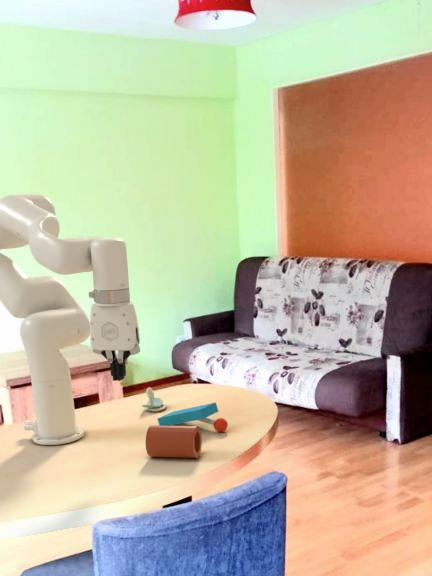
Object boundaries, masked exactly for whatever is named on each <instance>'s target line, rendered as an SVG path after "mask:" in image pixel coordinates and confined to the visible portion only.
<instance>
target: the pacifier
mask: <svg viewBox="0 0 432 576" xmlns="http://www.w3.org/2000/svg"><path fill="white" fill-rule="evenodd" d="M145 394H146V396H147V398H148V401H147V403H146V404H141V407H142V408H147V410H148V412H149V411H151V412H160V411H163V410H165V409H166V408H167V405H166V404H164V403H163V400H162V399H161V398H160V397H155V392H154V390H153V388H152V387H151V386H150V387H149V386H148V388H146V391H145Z"/></svg>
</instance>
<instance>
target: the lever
mask: <svg viewBox="0 0 432 576" xmlns="http://www.w3.org/2000/svg"><path fill="white" fill-rule="evenodd" d="M216 413H219V408H218V405H217V402H211V403H207V404H202V405H197V406H192V407H188V408H187V407H186V408H182V409H179V410H173V411H170V412H169V413H166V414H164V415H161V416H160V417H158V418H157V422H158V426H176V425H179V424H180V425H181V424H183V423H189V422H195V421H199V422H202V423H205V424H208V425H211V426H213V427H214V430H215V431H217V432H219V433H222V432H225V431H227V429H228V426H229V425H228V421H227V420H226V418H222V417H219V418H216V419H215V420H214V419H211V418H209V417H211V416H212V415H214V414H216Z"/></svg>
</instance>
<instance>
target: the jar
mask: <svg viewBox="0 0 432 576" xmlns="http://www.w3.org/2000/svg"><path fill="white" fill-rule="evenodd" d="M202 440H203V439H202V431H201V428H200V426H197V425H170V426H159V425H149V426H148V428H147V430H146V435H145V450H146V453H147V455H148V457H151V458H152V457H153V458H183V459H184V458H185V459H199V457H200V455H201V452H202V445H203V444H202V443H203V442H202Z"/></svg>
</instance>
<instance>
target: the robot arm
mask: <svg viewBox="0 0 432 576" xmlns="http://www.w3.org/2000/svg"><path fill="white" fill-rule="evenodd" d="M60 229H61V225H60V222H59V219H58V218H57V217H56V209H55V206H54V204H53V202H52V200H50V199H49V198H48V197H47V196H45V195H43V194H40V193H22V194H20V193H19V194H8V195H5V196H3V197H1V198H0V251H1V250H10V249H17V248H23V247H26V246H28V247H29V250H30V252H31V254H32V257H33V258H34V260H35V261H36V262H37V263H38V264H39V265H41V266H42V267H44V268H45V269H48V270H49V271H51V272H52V273H55V274H58V275H62V276H68V275H75V274H81V273H82V274H83V273H90V272H91V273H92V282H93V289H92V291H89V292H88V298H90V299H93V301H94V303H92V304H91V307H90V314H89V315H90V316H89V317H90V318H89V317H88V315H87V313H86V312H85V310H84V308H82V306H81V305H80V303H79V302H78V300H77V299H75V297H74V296H73V295H72V293H71V292H70V291H69V289H68V288H67V286H66V285H65V284H64V283H63V281H61V280H60V279H58V278H56V277H54V276H51V275H41V276H33V277H31V276H28V275H27V274H25V273H24V272H23V271H22V269H21V268H20V266H19V265H18V264H17V263H16V262H15V260H13V259H11V258H10V257H8V256H7V255H5V254H3V253H2V252H0V302H1V303H2V305H3V306H4V307H5V309H6V311H8V313H9V314H10V315H11V316H13V317H14V318H16V319H23V320H22V322H21V323H20V328H19V333H20V339H21V342H22V345H23V349H24V351H25V353H26V358H27V363H28V368H29V376H30V381H31V389H32V397H33V405H34V411H35V419H36V420H34V421H33V420H25V421H24V424H23V429H24V431H32V432H33V434H32V436H31V438H32V442H33V443H35V444H37V445H42V446H58V445H64V444H70V443H72V442H76V441H77V440H80V439H81V438H83V436H84V434H85V433H84V429H83V428H82V427H80V426H77V419H76V411H75V410H76V408H75V401H74V394H73V383H72V377H71V369H70V365H69V362H68V361H67V360H66V358H65V357H64V355H63V354H62V353H61V351H60V350H61V349H64V348H68V347H73V346H76V345H80V344H82V343H84V342H85V341H87V340H88V338H89V340H90V346H91V348H92V352H93V353H94V354H96V355H100V356H103V358H105V359H106V360H107V363H108V364H109V368H110V369H109V371H110V376H111V377H112V381H114V382H117V381H118V382H121V381H123V379H125V377H126V376H127V368H126V361H127V360H128V359H129V357H130V356H134V355H138V354H139V353H141V348H140V341H141V340H140V330H139V329H140V327H139V321H138V317H137V312H136V308H135V305H134V302H133V301H131V295H130V293H131V292H130V281H129V268H128V266H129V265H128V252H127V244H126V241H125V239H123V238H119V237H102V236H96V235H89V236H77V237H67V238H59V236H60V235H59V234H60ZM116 351H117V352H116Z"/></svg>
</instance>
